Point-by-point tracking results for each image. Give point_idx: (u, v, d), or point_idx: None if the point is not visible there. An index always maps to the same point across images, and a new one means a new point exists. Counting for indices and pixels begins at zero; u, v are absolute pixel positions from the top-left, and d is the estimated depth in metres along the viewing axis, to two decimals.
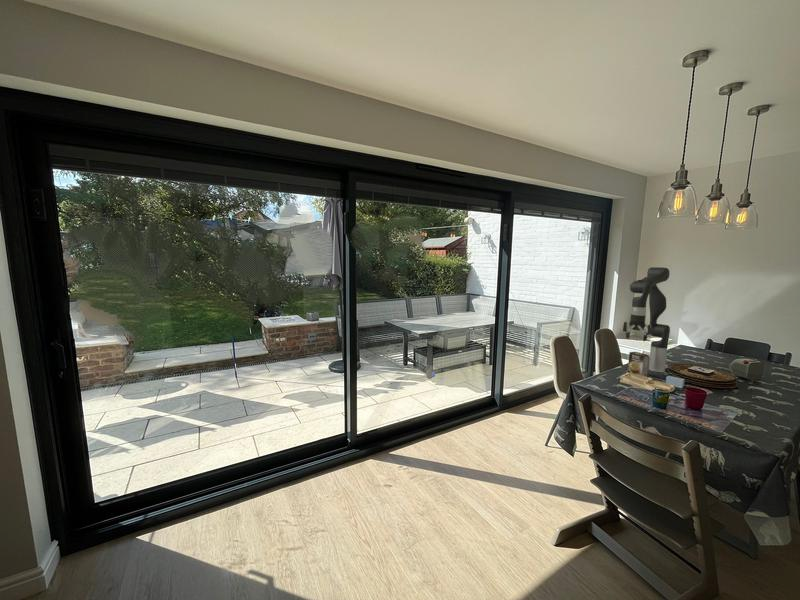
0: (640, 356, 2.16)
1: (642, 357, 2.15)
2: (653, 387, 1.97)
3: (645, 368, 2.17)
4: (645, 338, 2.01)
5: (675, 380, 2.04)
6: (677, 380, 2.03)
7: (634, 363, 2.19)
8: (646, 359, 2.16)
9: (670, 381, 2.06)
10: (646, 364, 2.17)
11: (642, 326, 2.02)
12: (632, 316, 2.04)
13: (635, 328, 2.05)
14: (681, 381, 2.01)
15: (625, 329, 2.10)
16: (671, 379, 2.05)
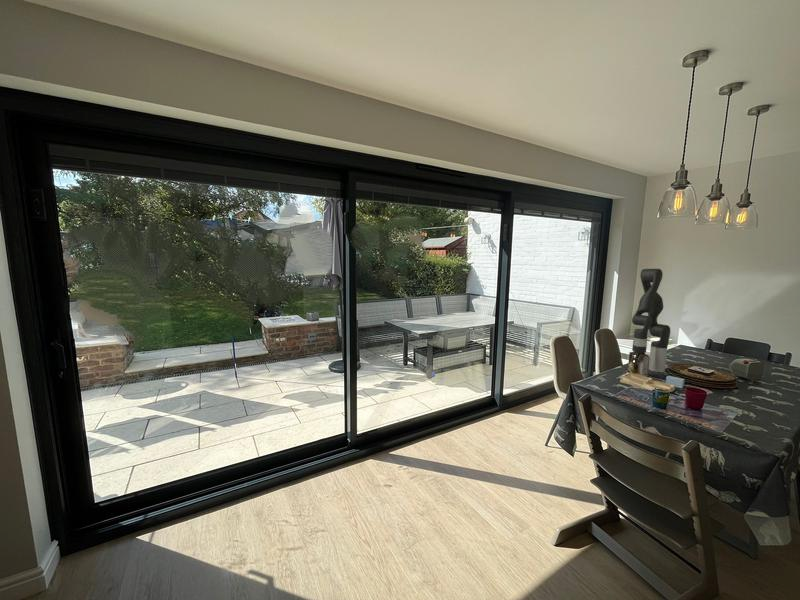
0: (640, 356, 2.16)
1: (642, 357, 2.15)
2: (653, 387, 1.97)
3: (645, 368, 2.17)
4: None
5: (675, 380, 2.04)
6: (677, 380, 2.03)
7: None
8: (646, 359, 2.16)
9: (670, 381, 2.06)
10: (646, 364, 2.17)
11: None
12: (643, 348, 2.15)
13: None
14: (681, 381, 2.01)
15: (634, 362, 2.17)
16: (671, 379, 2.05)
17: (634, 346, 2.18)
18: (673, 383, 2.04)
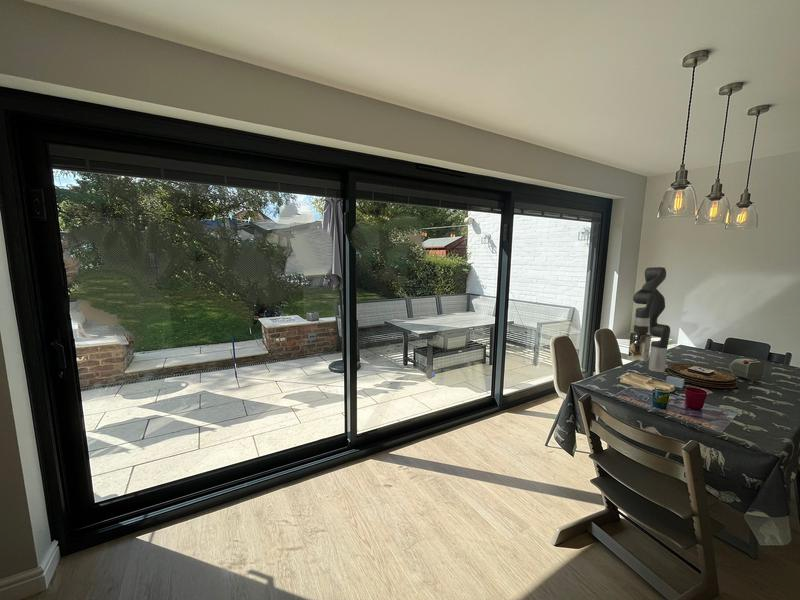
0: (642, 336, 2.02)
1: (644, 337, 2.01)
2: (653, 387, 1.97)
3: (647, 349, 2.03)
4: None
5: (675, 380, 2.04)
6: (677, 380, 2.03)
7: None
8: (648, 340, 2.03)
9: (670, 381, 2.06)
10: (648, 345, 2.03)
11: None
12: (645, 328, 2.02)
13: None
14: (681, 381, 2.01)
15: (636, 343, 2.03)
16: (671, 379, 2.05)
17: (635, 326, 2.05)
18: (673, 383, 2.04)
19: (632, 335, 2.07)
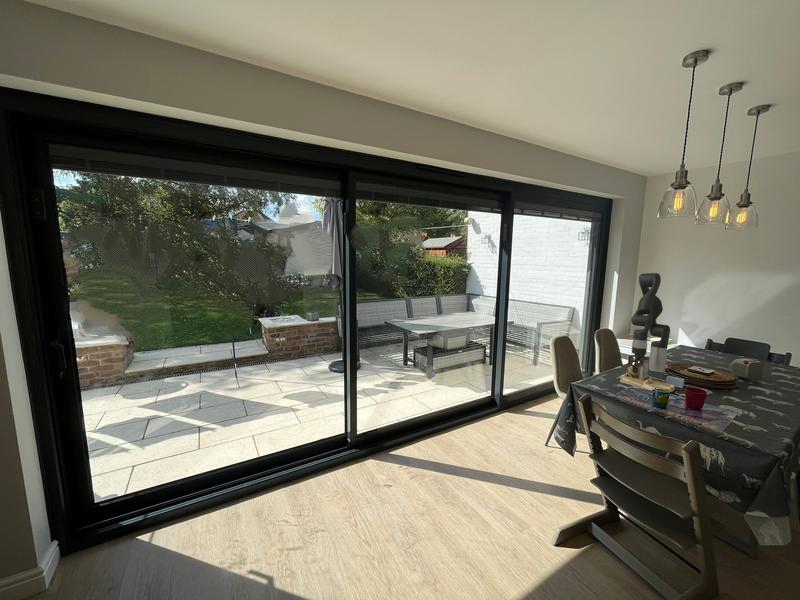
0: (640, 360, 2.04)
1: (642, 361, 2.03)
2: (653, 387, 1.97)
3: (645, 372, 2.05)
4: None
5: (675, 380, 2.04)
6: (677, 380, 2.03)
7: None
8: (646, 363, 2.04)
9: (670, 381, 2.06)
10: (646, 368, 2.05)
11: (642, 357, 2.09)
12: (643, 350, 2.03)
13: None
14: (681, 381, 2.01)
15: None
16: (671, 379, 2.05)
17: (633, 348, 2.07)
18: (673, 383, 2.04)
19: (630, 358, 2.09)
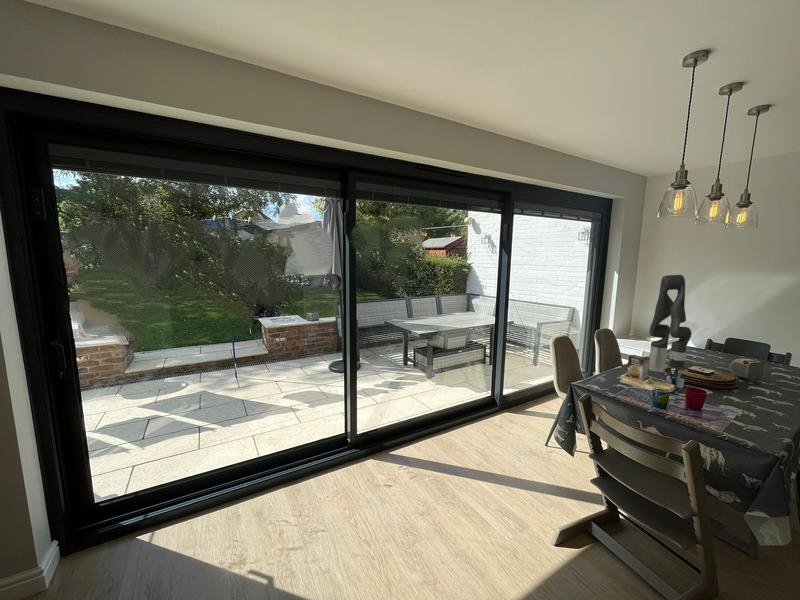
0: (640, 360, 2.04)
1: (642, 361, 2.03)
2: (653, 387, 1.97)
3: (645, 372, 2.05)
4: None
5: None
6: (677, 380, 2.03)
7: (633, 367, 2.08)
8: (646, 363, 2.04)
9: (670, 381, 2.05)
10: (646, 368, 2.05)
11: None
12: (682, 362, 2.00)
13: None
14: (681, 381, 2.01)
15: None
16: None
17: (672, 360, 2.03)
18: None
19: (630, 358, 2.09)
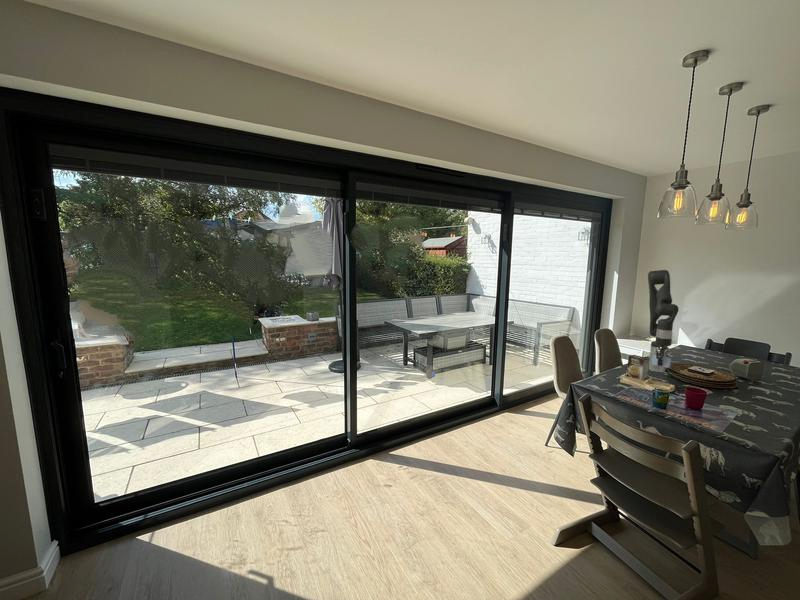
0: (640, 360, 2.04)
1: (642, 361, 2.03)
2: (653, 387, 1.97)
3: (645, 372, 2.05)
4: None
5: None
6: (664, 359, 1.95)
7: (633, 367, 2.08)
8: (646, 363, 2.04)
9: (657, 360, 1.98)
10: (646, 368, 2.05)
11: None
12: (668, 340, 1.93)
13: None
14: (668, 360, 1.94)
15: None
16: None
17: (658, 338, 1.96)
18: None
19: (630, 358, 2.09)
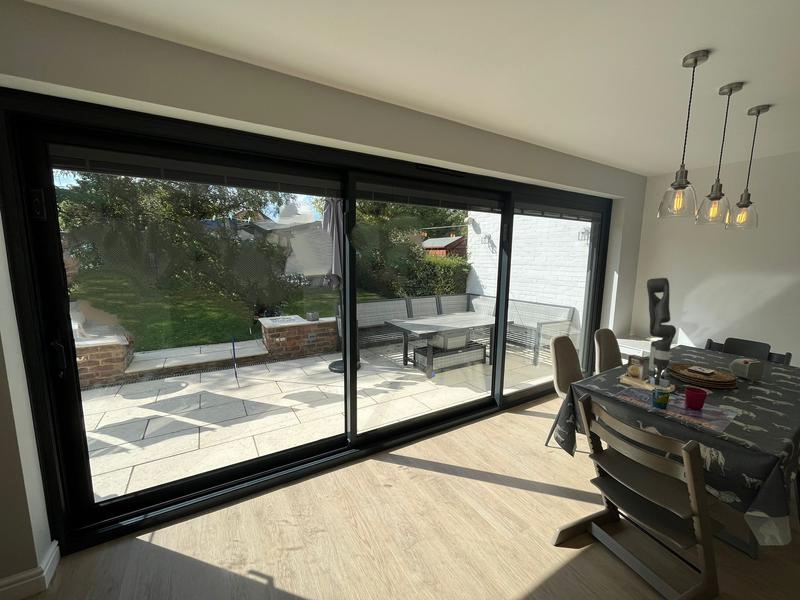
0: (640, 360, 2.04)
1: (642, 361, 2.03)
2: (653, 387, 1.97)
3: (645, 372, 2.05)
4: None
5: None
6: (661, 381, 1.97)
7: (633, 367, 2.08)
8: (646, 363, 2.04)
9: (654, 382, 2.00)
10: (646, 368, 2.05)
11: (664, 368, 2.00)
12: (666, 361, 1.94)
13: None
14: (665, 382, 1.96)
15: (656, 376, 1.96)
16: None
17: (656, 359, 1.98)
18: None
19: (630, 358, 2.09)
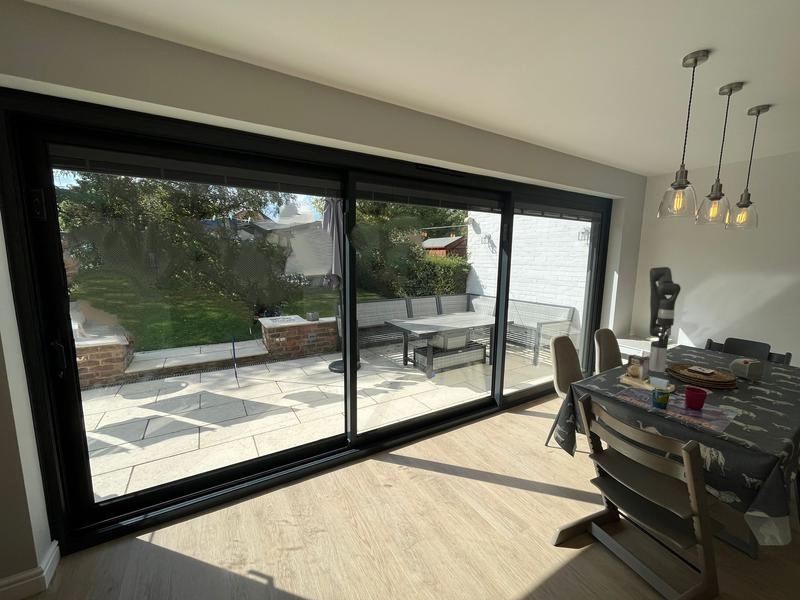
0: (640, 360, 2.04)
1: (642, 361, 2.03)
2: (653, 387, 1.97)
3: (645, 372, 2.05)
4: None
5: (659, 381, 1.98)
6: (661, 381, 1.97)
7: (633, 367, 2.08)
8: (646, 363, 2.04)
9: (654, 382, 2.00)
10: (646, 368, 2.05)
11: None
12: (670, 320, 1.91)
13: None
14: (665, 382, 1.96)
15: (660, 335, 1.93)
16: (655, 380, 1.99)
17: (660, 318, 1.95)
18: (657, 384, 1.99)
19: (630, 358, 2.09)
